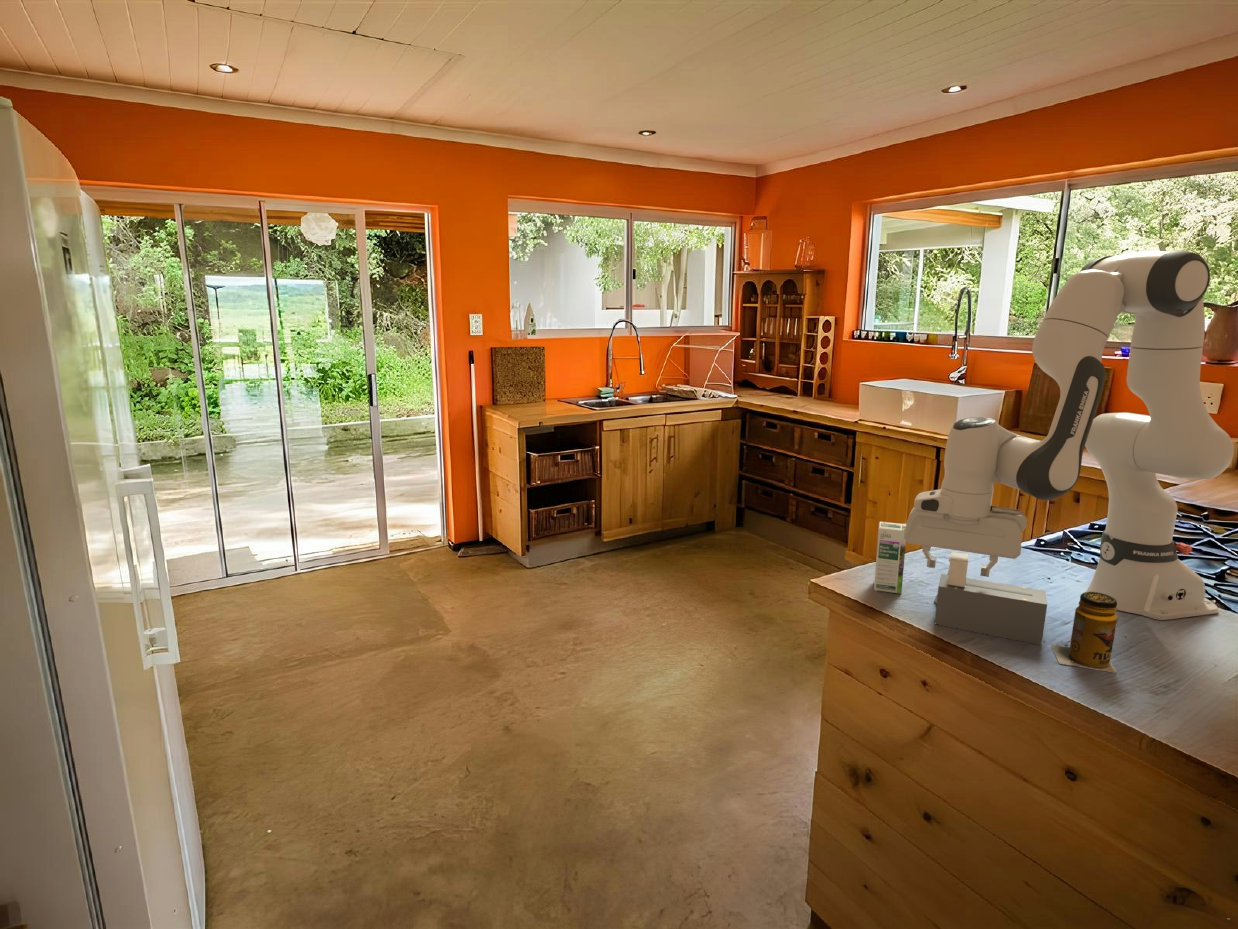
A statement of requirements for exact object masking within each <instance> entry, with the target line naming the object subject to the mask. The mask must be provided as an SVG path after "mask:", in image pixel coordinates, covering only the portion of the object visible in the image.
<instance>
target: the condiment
mask: <svg viewBox="0 0 1238 929" xmlns="http://www.w3.org/2000/svg"><path fill="white" fill-rule="evenodd" d="M1116 606H1117V601H1116V600H1115V598H1113V597H1111V596H1109V595H1106V594H1103V593H1098V592H1086V591H1085V592H1083V593H1080V596H1079V602H1078V606H1077V607H1076V608H1075V611H1074V618H1073V623H1072V631H1071V637H1070V642H1069V643H1070V644H1069V646H1066V645H1064V646H1063V645H1060V644H1054V643H1051V648H1052V650H1053V653H1054V656H1055V657H1056V659H1057V662H1058V664H1059V665H1067V666H1074V667H1078V668H1079V667H1080V668H1085V669H1089V670H1095V671H1096V670H1097V671H1102V672H1109V673H1118V671H1117V670H1116V668H1115V667H1114V665H1113V663H1112V661H1111V658H1112V653H1113V646H1114V642H1115V635H1116V628H1117V624H1118V615H1117V614H1116V612H1117V609H1116Z"/></svg>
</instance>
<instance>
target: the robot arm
mask: <svg viewBox="0 0 1238 929" xmlns="http://www.w3.org/2000/svg"><path fill="white" fill-rule="evenodd" d="M1210 281H1211V271H1210V268H1209V266H1208V263H1207V262H1206V261H1205V258H1203V256H1201V254H1198V253H1196V252H1193V251H1189V250H1182V249H1181V250H1177V249H1175V250H1170V251H1167V250H1166V251H1165V250H1164V251H1163V250H1146V251H1145V250H1144V251H1137V252H1133V253H1126V254H1120V255H1119V254H1118V255H1106V256H1102V257H1099V258H1096V259H1094V260H1091V261H1090V262H1088V263H1086V265H1084V266H1083V267H1082V268H1081V269H1080V271H1079V272H1076V273H1074V274H1073V275H1071V276H1070V277H1069V278H1068V279H1067V280H1066V282H1065V283H1064V285H1063V286H1062V287H1061V289H1060V291H1058V293H1057V295H1056V296H1055V298H1054V299H1053V301H1052V302H1051V304H1050V306H1049V307H1048V309H1047V311H1046V313H1045V315H1044V317H1043V319H1042V321H1041V323H1040V325H1039V327H1038V329H1037V330H1036V333H1035V335H1034V339H1033V342H1032V347H1031V353H1032V356H1033V359H1034V362H1035V363H1036V365H1037V366H1038V367H1039V368H1040V370H1041V371H1043V372H1044V373H1045V374H1047V376H1049V377H1051V378H1052V379H1053V380H1054V381H1055V382H1056V383H1057V385H1058V387H1059V391H1060V395H1059V396H1060V397H1059V400H1058V404H1057V406H1056V410H1055V413H1054V416H1053V419H1052V420H1051V421H1052V422H1051V425H1050V427H1049V431H1048V434H1047V435H1046V437H1045V438H1043V439H1042V440H1038V439H1034V438H1030V437H1028V436H1025V435H1020V434H1018V433H1015V432H1013V431H1011V430H1008V429H1006V428H1005V427H1002V425H1000V424H999V423H998V422H997V421H996V420H995V419H994V418H991V417H984V416H979V417H975V416H974V417H973V416H972V417H971V416H970V417H966V418H962V419H958V421H956V422H954V423H953V424H952V426H951V428H950V430H949V432H948V435H947V440H946V445H945V450H944V459H943V467H944V475H943V476H944V477H943V480H942V482H941V487H940V488H939V489H934V490H928V491H921V492H919V493H918V494H917V495H916V497H914V503H913V505H914V506H913V508H912V509H911V511H910V513H909V515H908V518H907V520H906V523H905V524H906V528H905V533H904V539H905V540H906V544H910V545H917V546H922V548H921V550H922V553H923V555H924V557H925V558H926V561H927V562H926V568H929V569H930V568H931V569H935V568H936V563H937V557H933V556H932V555H931V548H936V549H937V548H938V549H943V550H944V549H945V550H951V551H958V552H964V553H965V552H966V553H972V554H977V555H979V554H980V555H984V556H989V561H988V563H987V564H981V567H980V576H981V577H985V578H990V571H991V569H992V568H994V566H995V565H997V563H998V560H999V558H1005V559H1011V560H1015V559H1017V558H1019V557H1020V556H1021V553H1022V533H1023V532H1024V531H1026V529H1027V523H1028V519H1027V516H1026V515H1025V514H1024V513H1023V512H1022V511H1019V509H1017V508H1008V507H1007V508H1005V507H1002V506H997V505H995V506H993V505H992V503H993V496H994V485H995V484H997V483H1001V484H1003V485H1004V486H1008V487H1011V488H1014V489H1016V490H1019V491H1022V492H1024V493H1025V494H1027V495H1030V496H1031V497H1032V498H1033V497H1034V498H1036V499H1038V500H1041V501H1052V500H1056V499H1058V498H1060V497H1063V496H1064V495H1066V494H1067V493H1069V492H1070V491H1071V490H1072V489H1073V488H1075V486H1076V484H1077V483H1078V481H1079V478H1080V475H1081V470H1082V462H1083V460H1082V459H1083V454H1084V449H1085V448H1086V450H1087V452H1088V453H1089V455H1090V456H1091V457H1092V458H1094V460H1095V461H1096V462H1097V464H1098V465H1099V467H1100V469H1101V470H1102V473H1103V476H1104V478H1105V482H1106V486H1107V489H1108V490H1107V491H1108V508H1107V516H1106V517H1107V518H1106V523H1105V524H1106V526H1105V529H1103V531H1102V534H1101V539H1100V545H1099V555H1100V556H1099V560H1098V563H1097V565H1096V569H1095V571H1094V573H1093V574H1094V575H1093V577H1092V579H1091V581H1090V584H1089V586H1088V587H1087V589H1086V591H1085V592H1098V593H1103V594H1106V595H1109V596H1111V597H1113V598H1115V600H1116V601H1117V606H1116V611H1121V612H1126V613H1131V614H1136V615H1141V616H1144V617H1147V618H1149V619H1154V620H1159V621H1167V620H1174V619H1175V620H1176V619H1181V618H1188V617H1189V618H1191V617H1197V616H1205V615H1213V614H1218V612H1219V608H1218V606H1217V604H1216V603H1214V602H1213V601H1211V600H1209V599H1208V598H1207V597H1206V585H1205V582H1204V579H1203V578H1202V577H1201V576H1200V575H1199V574H1198V573H1196V572H1195V571H1194V570H1193V569H1191V568H1190V567H1189V566H1187V564H1185V563H1184V562H1183V561H1182V560H1180V559H1179V557H1178V556H1179V555H1178V553H1181V554H1183V555H1185V556H1187V555H1190V553H1191V552H1192V551H1193V547H1192V546H1191V545H1189V544H1186V543H1184V542H1179V543H1177V542H1176V541H1175V540H1173V537H1174V532H1175V527H1176V526H1175V525H1176V520H1177V514H1178V509H1179V508H1178V504H1177V502H1176V500H1175V499H1174V497H1173V496H1172V495H1170V494H1169V493H1168V492H1167V491H1165V489H1164V488H1163V487H1162V485H1161V484H1160V482H1159V480H1158V478H1157V475H1156V474H1159V475H1164V476H1168V477H1172V478H1177V479H1187V480H1210V479H1215V478H1216V477H1218V476H1220V475H1221V474H1222V473H1223V472H1225V470H1226V469H1227V468H1228V467H1229V466H1230V465H1231V463H1232V461H1233V457H1234V451H1235V450H1234V449H1235V447H1234V444H1233V440H1232V438H1231V436H1230V434H1228V433H1227V432H1226V431H1225V430H1224V429H1223V428H1222V427H1220V426H1219V425H1218V424H1217V423H1216V421H1215V420H1214V419H1213V418H1212V417H1211V415H1210V413H1209V411H1208V410H1207V407H1206V406H1205V402H1204V400H1203V396H1202V392H1201V382H1200V381H1201V380H1200V379H1201V368H1202V366H1201V365H1202V358H1203V357H1202V356H1203V350H1204V343H1205V342H1204V341H1205V331H1206V330H1205V329H1206V327H1205V325H1206V322H1205V321H1206V320H1205V319H1206V316H1205V305H1204V300H1203V297H1205V295H1206V293H1207V290H1208V288H1209V285H1210ZM1120 314H1124V315H1125V314H1126V315H1133V317H1134V319H1135V321H1134V325H1133V329H1132V332H1131V333H1132V335H1131V339H1130V348H1129V357H1128V364H1127V372H1126V385H1127V388H1128V389H1129V391H1130V392H1131V393H1133V394H1134V395H1135V396H1137V397H1138V398H1139V399H1141V401H1143V404H1145V406H1146V408H1147V411H1148V413H1149V415H1148V414H1140V413H1135V412H1133V413H1132V412H1126V411H1125V412H1109V413H1108V412H1107V413H1102V414H1099V415H1097V416H1096V412H1097V409H1098V407H1099V404H1100V402H1101V398H1102V393H1103V390H1104V386H1105V382H1106V374H1107V373H1106V368H1105V365H1104V364H1103V363H1102V360H1103V354H1104V349H1105V346H1106V344H1107V342H1108V340H1109V338H1110V337H1111V336H1110V335H1111V333H1112V331H1113V329H1114V327H1115V324H1116V321H1117V319H1118V317H1119V315H1120ZM1095 416H1096V417H1095Z"/></svg>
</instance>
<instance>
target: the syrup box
mask: <svg viewBox="0 0 1238 929" xmlns="http://www.w3.org/2000/svg"><path fill="white" fill-rule="evenodd" d="M906 524H907V523H895V522H889V521H888V522H887V521H879V523H878V529H877V530H878V532H877V545H876V546H877V547H876V560H875V569H874V570H875V571H874V581H873V582H874V584H873V590H874V591H875V592H877V591H879V592H886V593H894V594H900V595H901V594H902V590H903V580H904V579H903V578H904V567H905V556H906V547H907V546H906V545H907V542H906V540H905V539H904V533H905V528H906Z"/></svg>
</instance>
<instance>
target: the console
mask: <svg viewBox="0 0 1238 929" xmlns="http://www.w3.org/2000/svg"><path fill="white" fill-rule="evenodd" d="M948 576H949V575H947V574H944V573H941V574H940V577H939V578H940V579H939V583H938V587H937V593H938V596H937V604H936V606H935V607H936V608H935V614H934V615H935V617H934V624H935V623H936V624H939V625H938V626H941V625H944V626H943V627H946V626H951V627H954V628H953V629H956V628H959V629H958V630H963V631H967V630H970V631H969V632H972V631H973V633H979V634H982V633H984V635H987V634H988V636H994V637H1000V638H1005V639H1008V640H1014V641H1019V642H1024V643H1030V644H1035V645H1039V646H1041V645H1042V644H1043V638H1044V637H1043V636H1044V629H1045V623H1046V617H1047V610H1048V600H1047V591H1046V590H1044V589H1039V588H1038V589H1037V588H1032V587H1031V588H1030V587H1026V586H1019V585H1014V584H1013V585H1012V584H1006V583H999V582H993V581H987V580H981V579H976V578H969V577H966V583H965V587H960V586H954V585H948ZM936 624H935V625H936ZM951 627H950V628H951Z"/></svg>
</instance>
